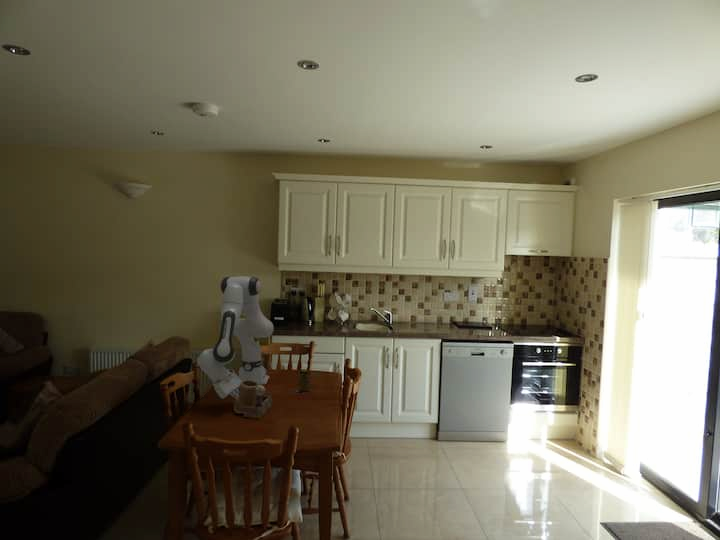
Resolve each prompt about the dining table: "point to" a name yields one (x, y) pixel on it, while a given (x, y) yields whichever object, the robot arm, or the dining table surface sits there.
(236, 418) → the dining table surface
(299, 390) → the condiment
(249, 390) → the stone cup
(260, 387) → the cradle
